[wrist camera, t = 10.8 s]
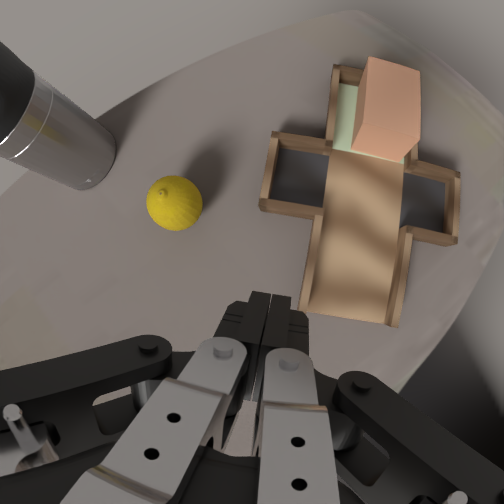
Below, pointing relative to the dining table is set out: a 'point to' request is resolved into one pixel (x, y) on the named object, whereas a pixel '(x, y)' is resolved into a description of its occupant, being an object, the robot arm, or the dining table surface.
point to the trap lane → (358, 216)
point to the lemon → (174, 203)
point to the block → (387, 110)
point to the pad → (347, 119)
